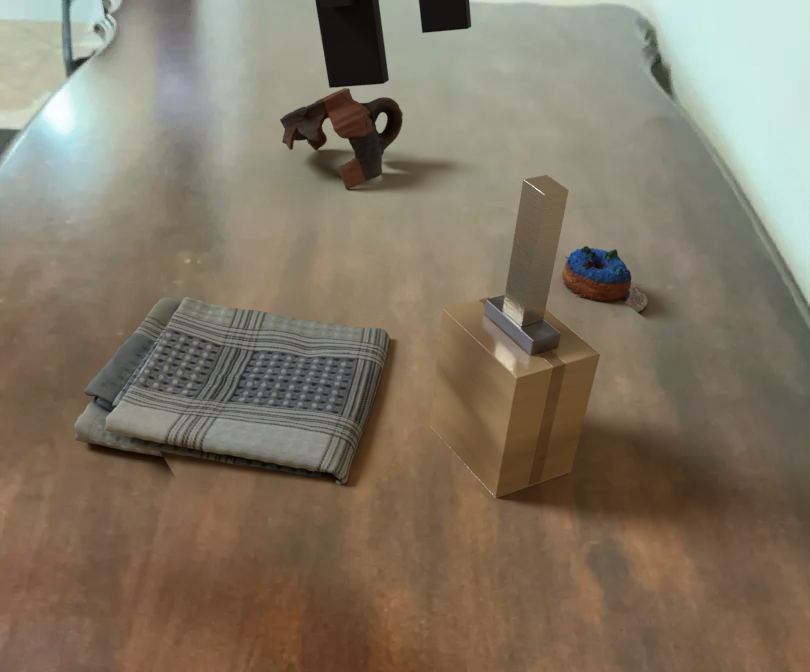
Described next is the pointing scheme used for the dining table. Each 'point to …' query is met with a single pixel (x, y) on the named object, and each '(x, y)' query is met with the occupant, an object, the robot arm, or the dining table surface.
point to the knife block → (509, 399)
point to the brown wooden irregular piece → (347, 131)
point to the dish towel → (238, 389)
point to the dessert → (601, 278)
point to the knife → (532, 267)
